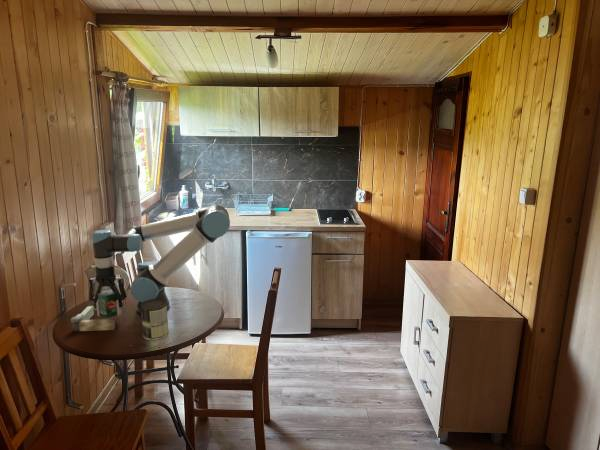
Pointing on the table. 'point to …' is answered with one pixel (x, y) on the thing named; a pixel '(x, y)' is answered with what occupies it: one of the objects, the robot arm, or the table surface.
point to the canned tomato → (107, 304)
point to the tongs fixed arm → (94, 325)
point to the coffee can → (154, 319)
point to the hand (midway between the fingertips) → (109, 314)
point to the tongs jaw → (84, 315)
